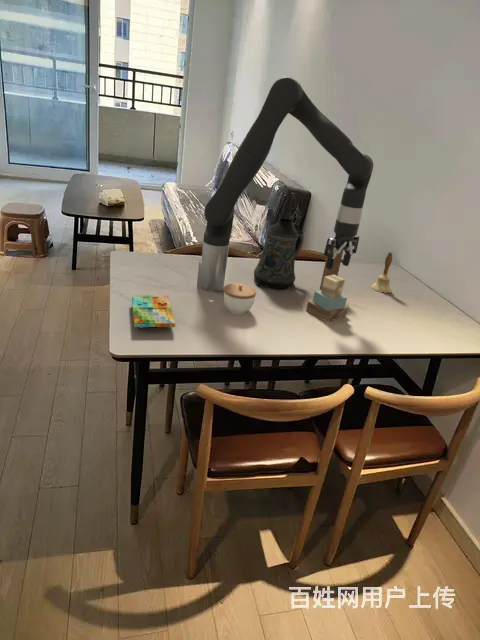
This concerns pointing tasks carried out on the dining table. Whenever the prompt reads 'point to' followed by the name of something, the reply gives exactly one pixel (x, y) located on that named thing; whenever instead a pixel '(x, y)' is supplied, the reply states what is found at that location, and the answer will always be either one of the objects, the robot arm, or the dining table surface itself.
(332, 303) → the tower top
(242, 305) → the lidded jar
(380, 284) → the hand bell
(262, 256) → the beer stein
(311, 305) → the tower base
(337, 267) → the wooden block
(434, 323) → the dining table surface
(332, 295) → the maple block
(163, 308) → the puzzle game
